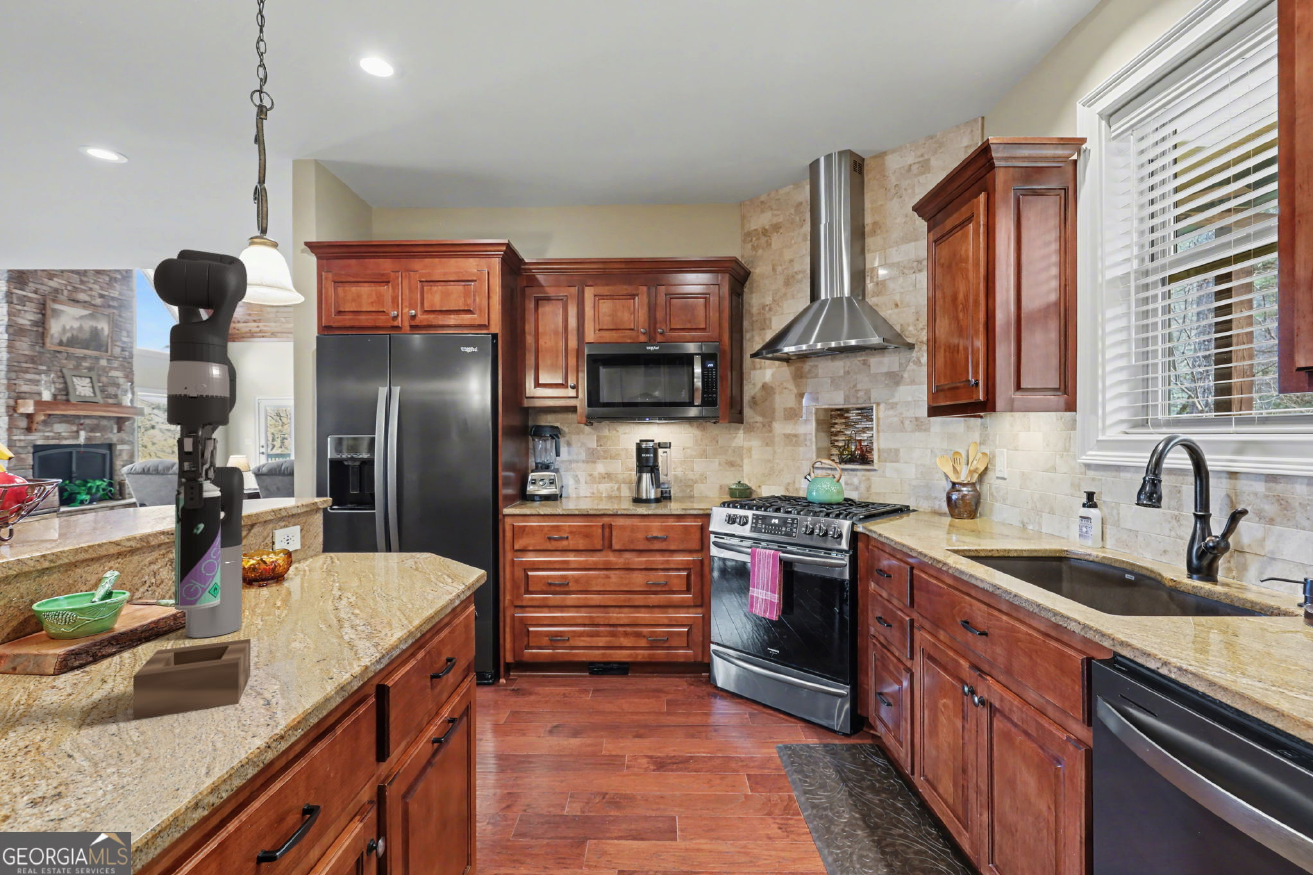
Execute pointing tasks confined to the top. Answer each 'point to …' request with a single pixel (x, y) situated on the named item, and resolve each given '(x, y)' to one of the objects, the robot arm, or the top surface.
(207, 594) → the spray can
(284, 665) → the top surface
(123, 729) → the top surface
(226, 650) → the walnut holder
